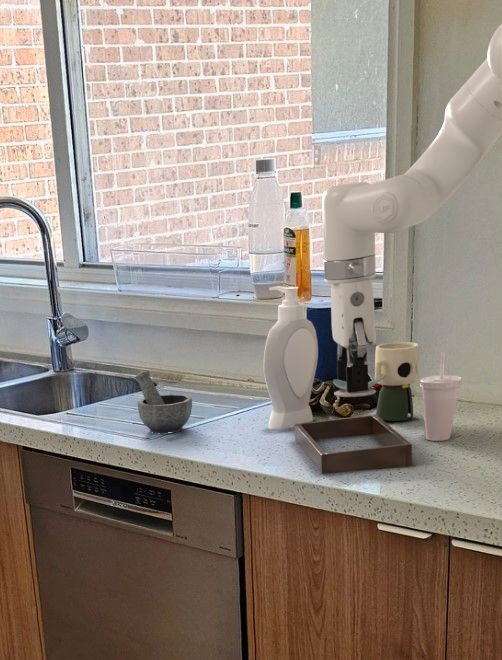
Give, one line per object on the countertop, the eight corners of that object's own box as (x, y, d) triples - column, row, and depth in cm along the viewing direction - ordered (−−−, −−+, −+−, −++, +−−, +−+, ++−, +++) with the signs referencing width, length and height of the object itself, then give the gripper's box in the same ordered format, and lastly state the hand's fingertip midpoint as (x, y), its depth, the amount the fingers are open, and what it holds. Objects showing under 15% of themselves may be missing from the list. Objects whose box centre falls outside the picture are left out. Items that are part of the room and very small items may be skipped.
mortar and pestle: (202, 433, 226) (201, 368, 221) (172, 445, 220) (169, 378, 216) (154, 428, 234) (152, 365, 229) (123, 439, 228) (120, 375, 223)
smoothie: (419, 443, 198) (423, 356, 193) (415, 434, 204) (419, 349, 198) (461, 441, 197) (466, 353, 191) (456, 432, 202) (461, 346, 197)
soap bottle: (296, 416, 228) (296, 280, 218) (327, 421, 222) (329, 282, 212) (244, 430, 222) (242, 291, 212) (275, 435, 216) (274, 293, 206)
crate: (376, 434, 208) (376, 414, 207) (411, 466, 187) (412, 444, 186) (295, 443, 209) (294, 423, 208) (321, 476, 189) (321, 454, 188)
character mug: (392, 429, 210) (395, 352, 205) (357, 424, 215) (359, 349, 210) (430, 415, 215) (434, 341, 210) (396, 411, 221) (399, 338, 215)
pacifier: (376, 398, 189) (383, 389, 194) (375, 358, 187) (383, 349, 192) (328, 400, 193) (336, 391, 198) (327, 360, 190) (335, 352, 195)
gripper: (388, 270, 179) (390, 394, 185) (361, 261, 194) (364, 375, 201) (336, 278, 179) (340, 401, 186) (313, 268, 195) (318, 382, 202)
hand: (352, 386), depth 194 cm, fingers closed on pacifier, 5 cm apart
